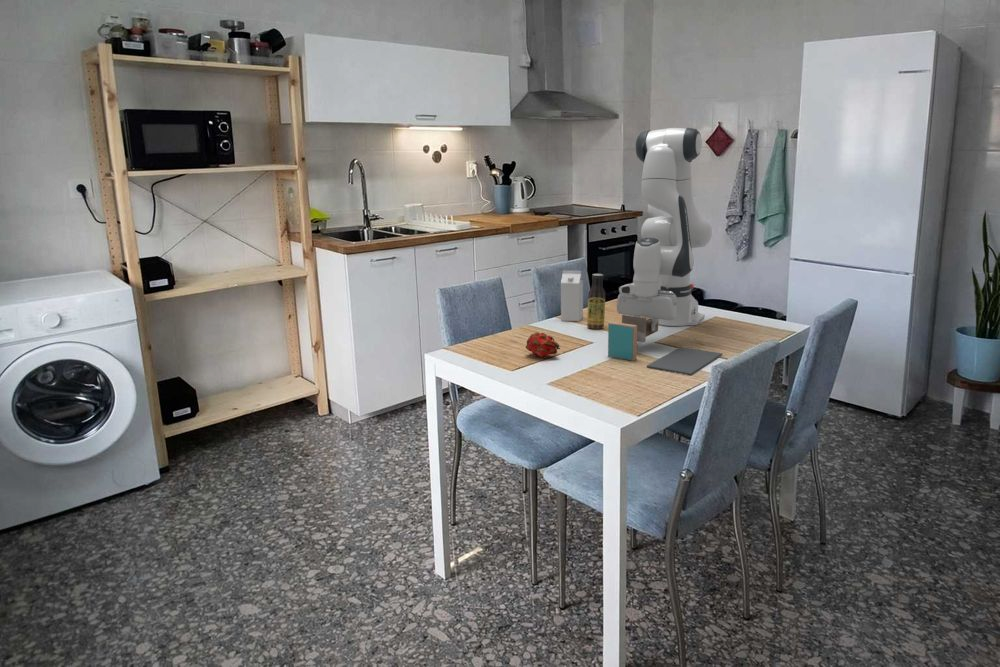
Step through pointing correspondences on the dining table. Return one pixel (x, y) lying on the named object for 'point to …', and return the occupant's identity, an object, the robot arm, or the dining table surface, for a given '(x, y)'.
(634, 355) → the tile
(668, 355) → the mat
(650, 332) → the wooden post on base
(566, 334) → the dining table surface
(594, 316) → the sauce bottle
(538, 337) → the dragon fruit
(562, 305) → the milk carton
